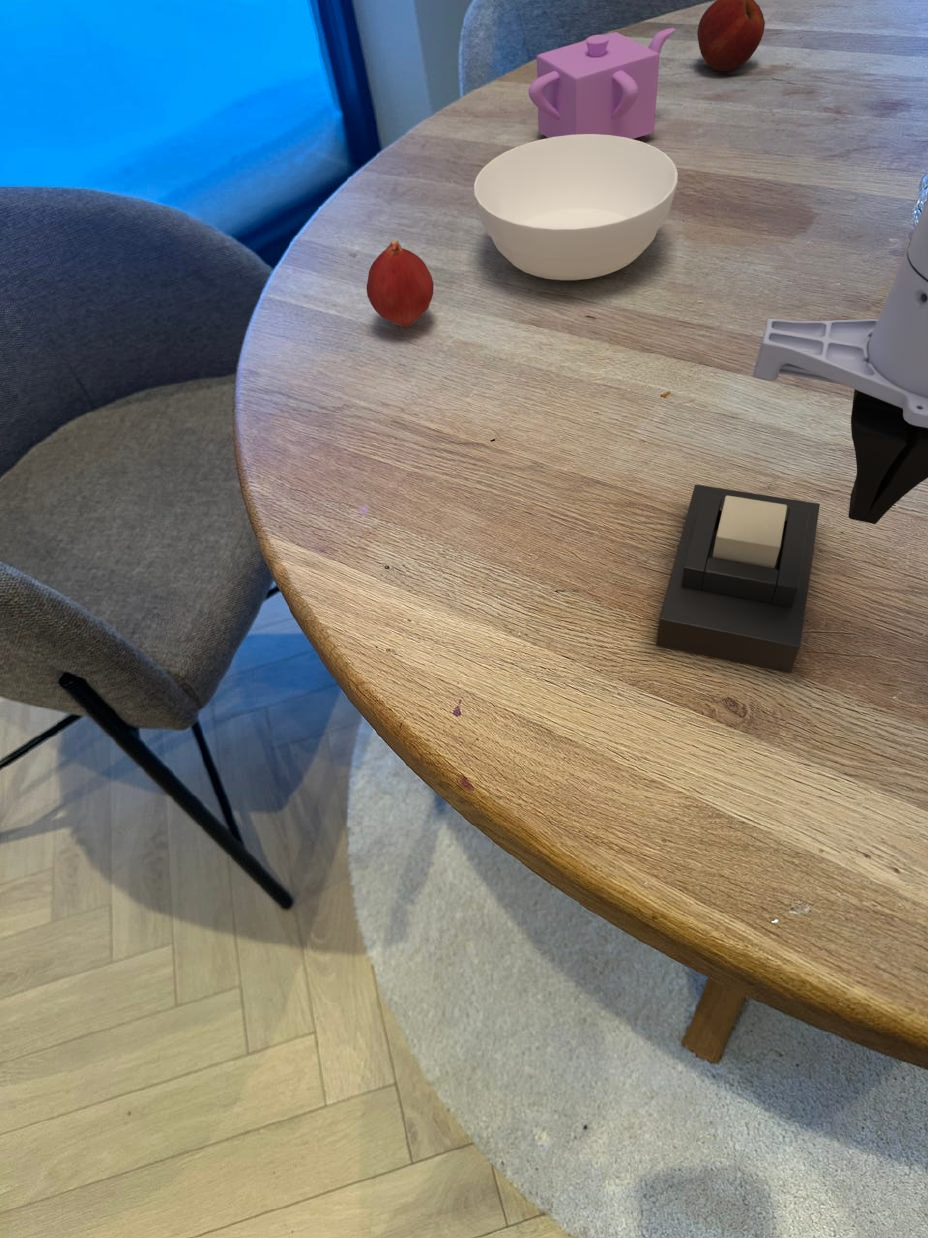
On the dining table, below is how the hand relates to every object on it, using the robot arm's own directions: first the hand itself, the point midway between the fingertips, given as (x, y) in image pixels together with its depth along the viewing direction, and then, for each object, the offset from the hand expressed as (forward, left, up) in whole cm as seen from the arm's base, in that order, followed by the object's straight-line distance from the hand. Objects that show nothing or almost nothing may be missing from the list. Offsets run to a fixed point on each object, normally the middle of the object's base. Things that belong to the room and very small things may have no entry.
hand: (863, 508), depth 44 cm
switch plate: (+4, -4, -10) cm, 12 cm away
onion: (+30, -34, -11) cm, 47 cm away
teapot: (+12, -71, -11) cm, 72 cm away
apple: (-3, -88, -11) cm, 89 cm away
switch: (+4, -4, -6) cm, 9 cm away
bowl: (+15, -45, -11) cm, 49 cm away
